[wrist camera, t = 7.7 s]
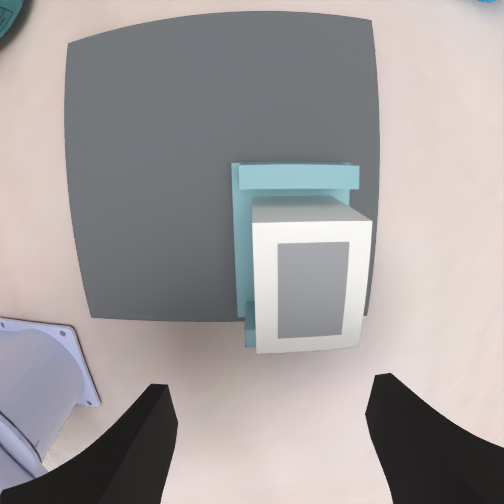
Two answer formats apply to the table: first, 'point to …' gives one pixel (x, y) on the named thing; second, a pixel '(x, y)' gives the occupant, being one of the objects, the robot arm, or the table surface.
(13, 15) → the beverage bottle
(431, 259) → the table surface
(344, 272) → the connector plug
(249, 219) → the connector holder
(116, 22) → the table surface
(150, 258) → the desk mat
